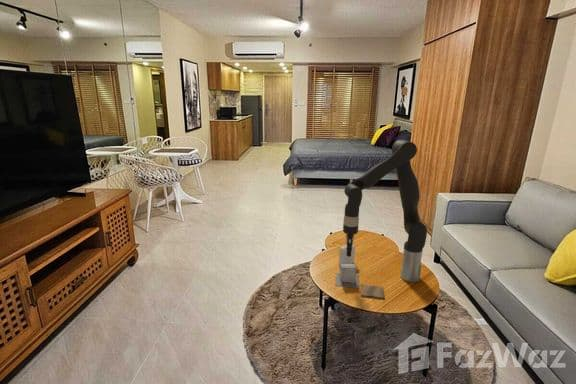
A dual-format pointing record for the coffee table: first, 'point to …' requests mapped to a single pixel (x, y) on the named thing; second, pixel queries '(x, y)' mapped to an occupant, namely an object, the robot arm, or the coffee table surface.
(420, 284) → the coffee table surface
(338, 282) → the tile
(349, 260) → the photo printer
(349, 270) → the medicine box
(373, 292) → the walnut mat
